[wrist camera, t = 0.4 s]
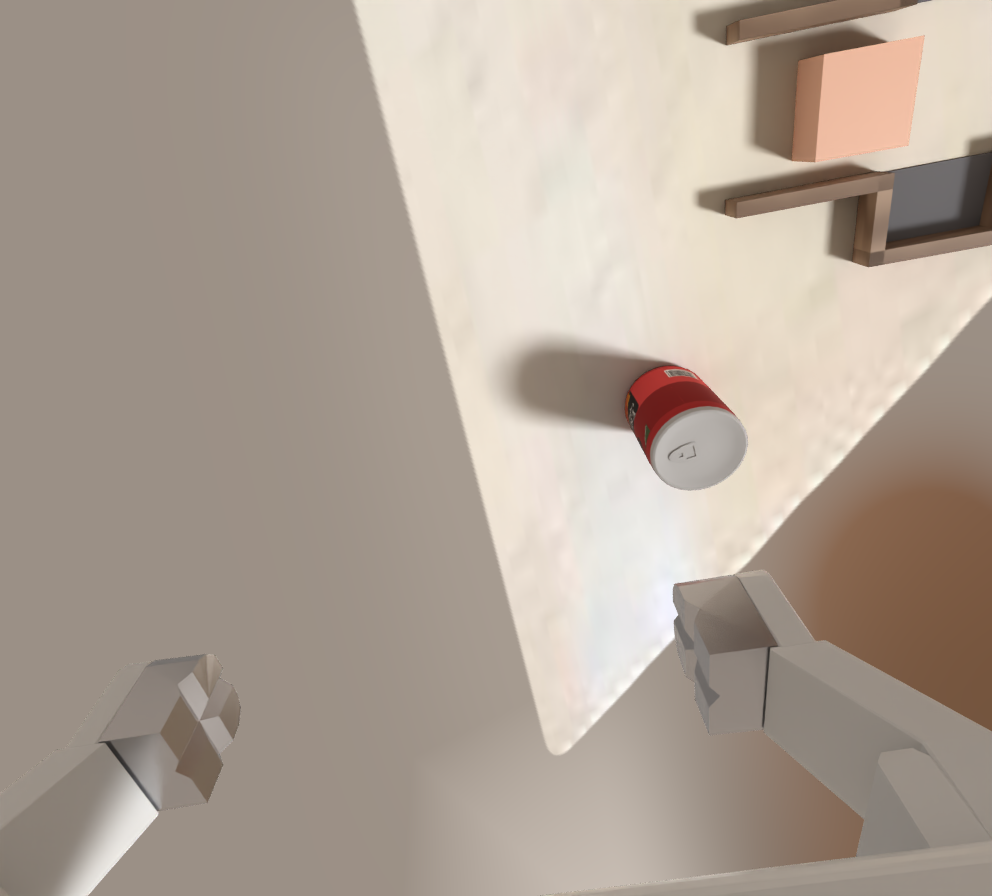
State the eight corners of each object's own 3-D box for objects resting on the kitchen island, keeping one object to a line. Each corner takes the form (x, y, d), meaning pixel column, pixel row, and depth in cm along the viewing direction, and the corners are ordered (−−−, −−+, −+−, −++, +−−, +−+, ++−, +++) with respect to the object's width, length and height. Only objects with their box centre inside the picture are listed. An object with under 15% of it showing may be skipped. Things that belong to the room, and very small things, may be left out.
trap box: (727, -77, 41) (751, -98, 37) (1187, -176, 39) (1257, -208, 36) (724, 285, 53) (742, 295, 49) (1078, 220, 51) (1123, 226, 47)
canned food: (608, 392, 57) (635, 443, 47) (681, 346, 55) (725, 390, 45) (645, 448, 60) (677, 507, 50) (715, 407, 58) (763, 460, 48)
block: (796, 61, 45) (824, 54, 41) (889, 43, 45) (924, 35, 41) (790, 160, 48) (815, 162, 45) (876, 145, 48) (908, 145, 44)
